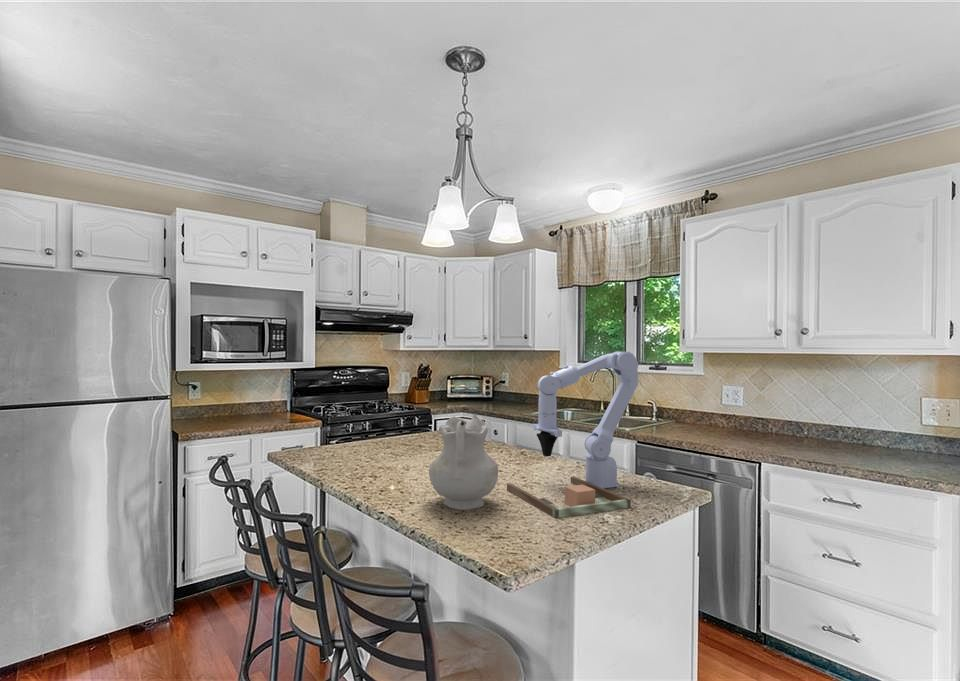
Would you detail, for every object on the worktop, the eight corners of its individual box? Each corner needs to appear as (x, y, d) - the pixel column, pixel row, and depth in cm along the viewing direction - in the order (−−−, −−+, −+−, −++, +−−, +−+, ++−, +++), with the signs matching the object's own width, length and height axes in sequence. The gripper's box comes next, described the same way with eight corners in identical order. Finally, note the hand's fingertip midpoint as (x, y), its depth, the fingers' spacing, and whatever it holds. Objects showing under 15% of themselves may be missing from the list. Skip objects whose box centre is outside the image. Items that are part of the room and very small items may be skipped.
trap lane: (573, 482, 170) (573, 476, 170) (630, 507, 145) (630, 500, 145) (506, 489, 161) (506, 483, 161) (554, 518, 135) (554, 510, 135)
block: (582, 501, 150) (582, 484, 150) (595, 507, 144) (595, 489, 144) (564, 504, 147) (564, 486, 147) (577, 510, 142) (577, 492, 142)
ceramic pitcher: (503, 520, 136) (511, 424, 137) (428, 517, 133) (437, 419, 133) (488, 496, 157) (495, 414, 158) (424, 493, 154) (431, 409, 155)
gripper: (525, 411, 171) (525, 452, 171) (548, 416, 158) (547, 461, 158) (544, 410, 174) (543, 450, 174) (568, 415, 161) (567, 459, 161)
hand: (547, 455), depth 166 cm, fingers closed
